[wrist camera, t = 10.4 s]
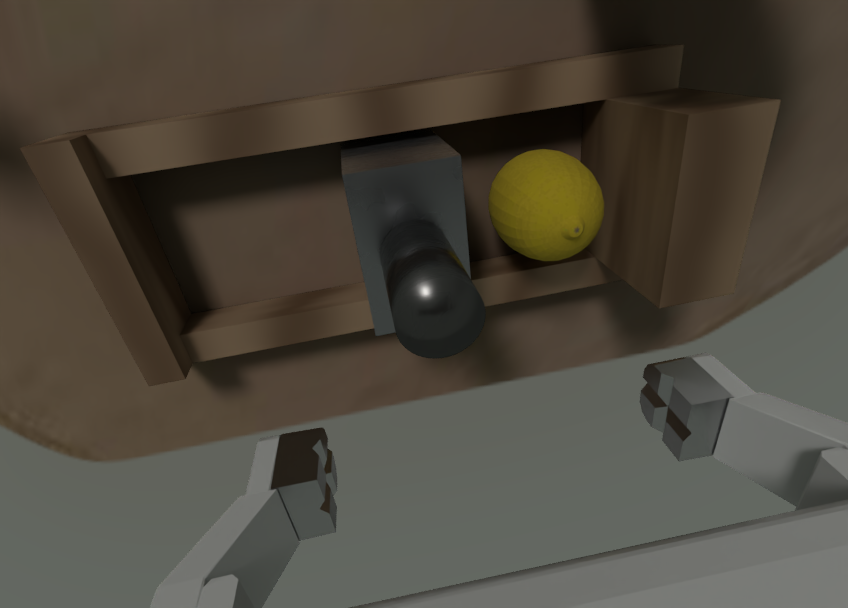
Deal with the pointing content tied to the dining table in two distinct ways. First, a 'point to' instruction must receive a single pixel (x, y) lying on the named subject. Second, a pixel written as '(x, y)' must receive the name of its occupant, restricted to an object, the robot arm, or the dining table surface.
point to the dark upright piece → (413, 241)
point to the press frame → (415, 109)
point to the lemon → (546, 205)
